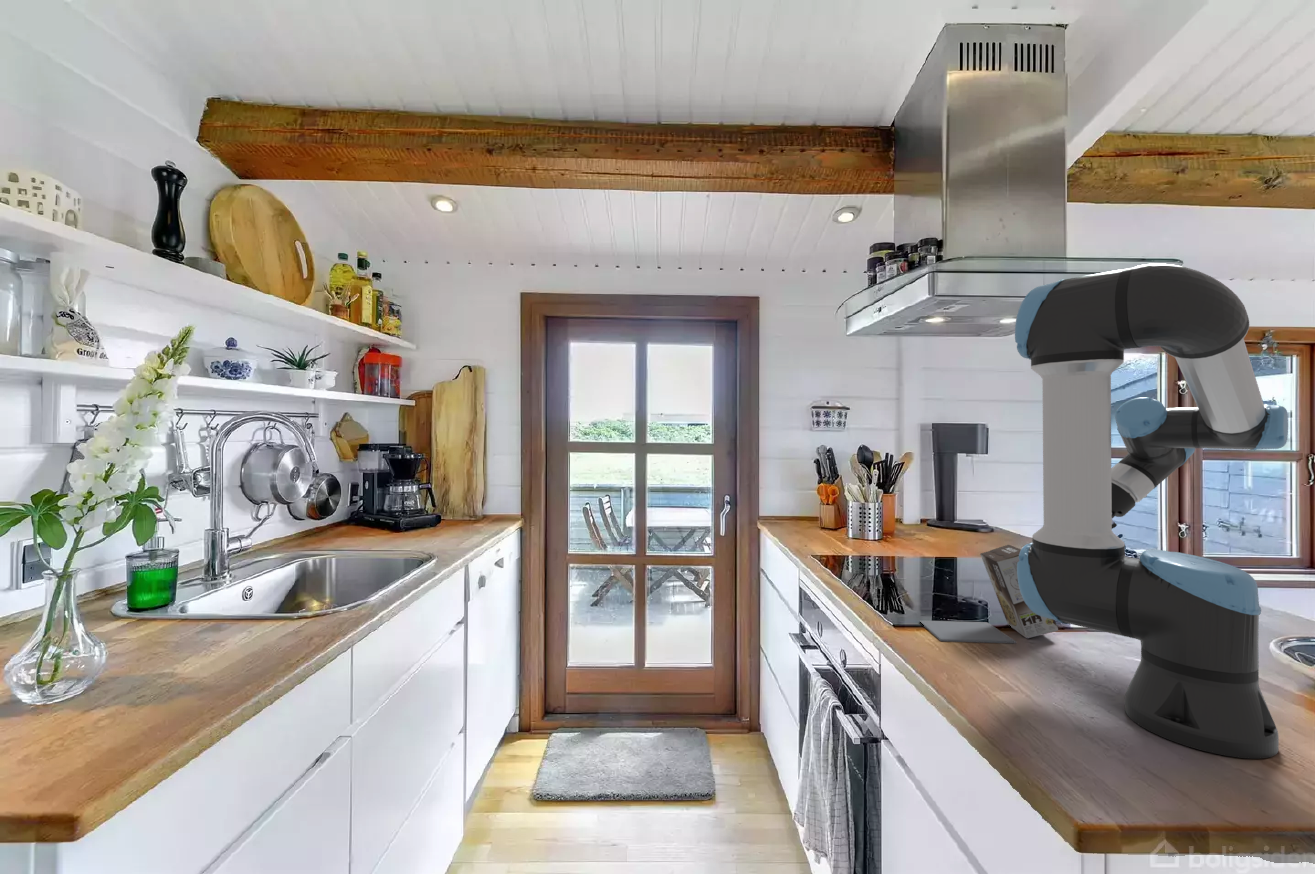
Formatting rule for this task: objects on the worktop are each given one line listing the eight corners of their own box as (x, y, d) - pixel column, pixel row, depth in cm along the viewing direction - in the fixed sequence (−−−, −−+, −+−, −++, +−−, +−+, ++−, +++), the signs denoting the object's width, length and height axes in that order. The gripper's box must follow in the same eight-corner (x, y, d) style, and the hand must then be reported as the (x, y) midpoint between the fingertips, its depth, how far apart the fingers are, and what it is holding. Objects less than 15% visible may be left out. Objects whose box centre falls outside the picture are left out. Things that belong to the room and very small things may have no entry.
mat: (987, 624, 119) (987, 622, 119) (1016, 643, 108) (1016, 641, 108) (919, 622, 120) (919, 620, 120) (940, 641, 109) (940, 639, 109)
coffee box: (1060, 630, 109) (1029, 551, 110) (1026, 639, 110) (996, 561, 111) (1037, 616, 118) (1009, 543, 119) (1006, 624, 119) (978, 552, 120)
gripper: (1157, 509, 106) (1062, 593, 108) (1109, 500, 119) (1025, 575, 121) (1127, 481, 107) (1033, 565, 109) (1083, 475, 120) (999, 550, 122)
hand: (1029, 570), depth 115 cm, fingers closed
